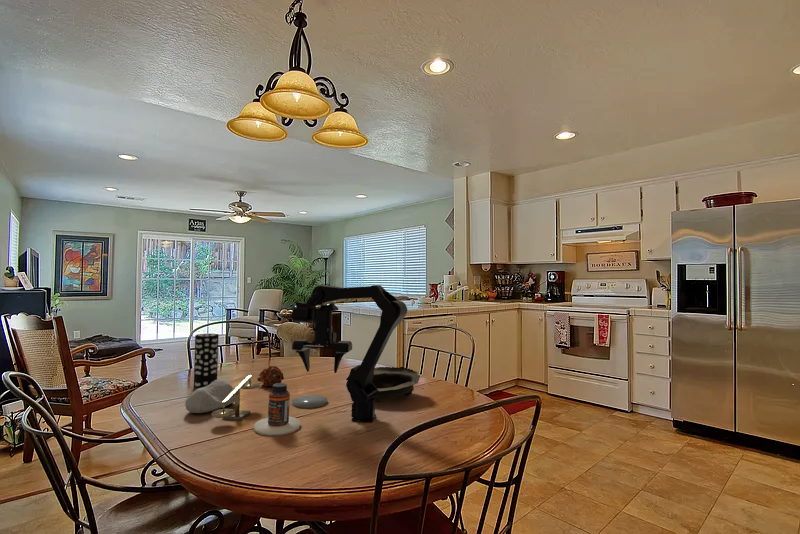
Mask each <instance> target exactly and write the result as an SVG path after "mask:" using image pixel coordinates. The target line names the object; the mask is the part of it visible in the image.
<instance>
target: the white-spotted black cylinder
mask: <svg viewBox="0 0 800 534" xmlns="http://www.w3.org/2000/svg"><path fill="white" fill-rule="evenodd" d="M194 337H195V338H194V363H193V367H194V368H193V369H194V370H193V389H195V390H196V389H198V388H203V387H205V386H208V385H210V384H211V383H212V382H213V381H215V380H217V379H218V366H219V365H218V363H219V334H218V333H198V334H195V335H194Z"/></svg>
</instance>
